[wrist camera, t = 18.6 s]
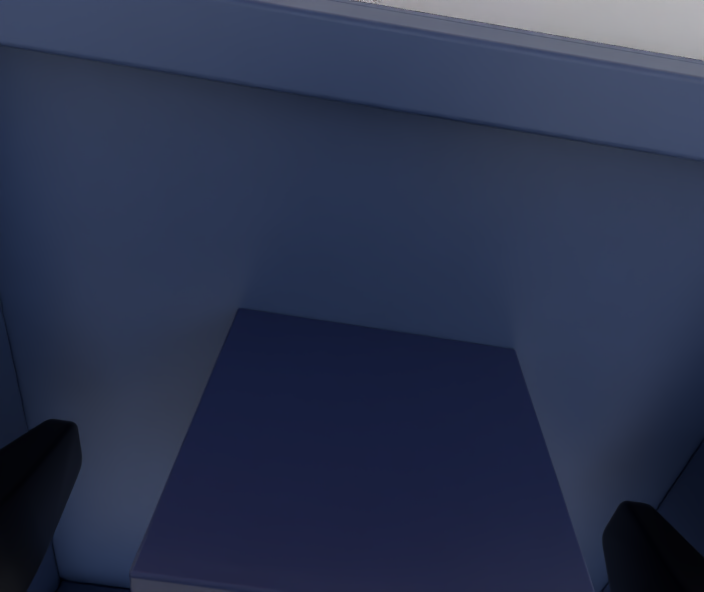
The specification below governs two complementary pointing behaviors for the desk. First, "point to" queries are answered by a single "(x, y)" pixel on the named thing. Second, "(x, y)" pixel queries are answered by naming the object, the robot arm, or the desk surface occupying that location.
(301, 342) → the blue block
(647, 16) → the desk surface
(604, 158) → the blue tray
